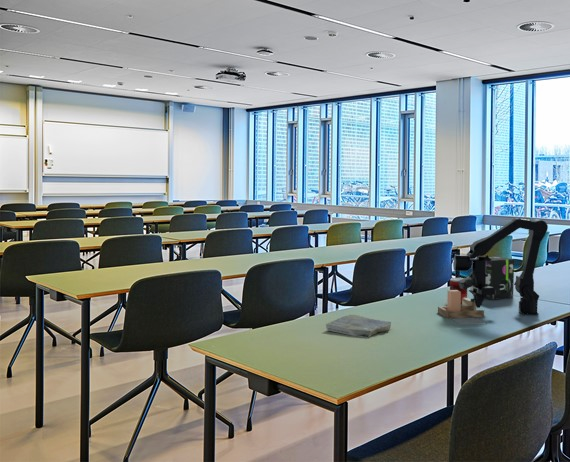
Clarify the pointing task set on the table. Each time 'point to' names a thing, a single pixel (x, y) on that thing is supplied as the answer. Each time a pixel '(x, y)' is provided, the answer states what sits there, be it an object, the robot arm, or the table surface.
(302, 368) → the table surface
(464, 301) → the gate
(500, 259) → the box
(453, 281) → the canned food
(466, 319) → the mat
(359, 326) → the fossil
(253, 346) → the table surface
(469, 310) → the tray
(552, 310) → the table surface
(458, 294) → the block
